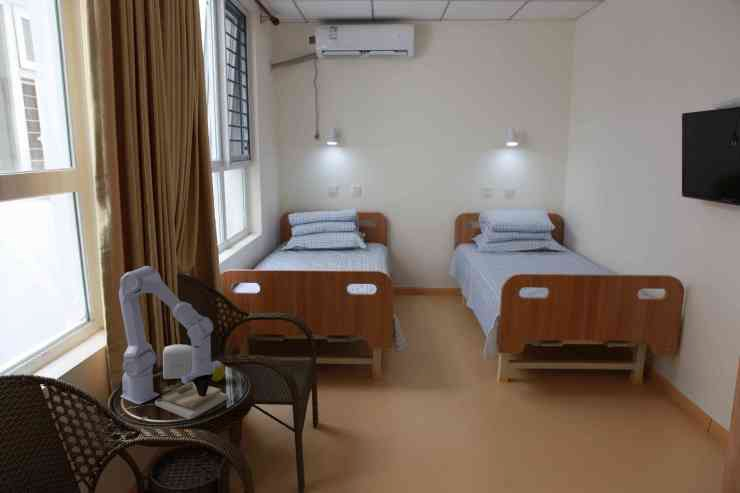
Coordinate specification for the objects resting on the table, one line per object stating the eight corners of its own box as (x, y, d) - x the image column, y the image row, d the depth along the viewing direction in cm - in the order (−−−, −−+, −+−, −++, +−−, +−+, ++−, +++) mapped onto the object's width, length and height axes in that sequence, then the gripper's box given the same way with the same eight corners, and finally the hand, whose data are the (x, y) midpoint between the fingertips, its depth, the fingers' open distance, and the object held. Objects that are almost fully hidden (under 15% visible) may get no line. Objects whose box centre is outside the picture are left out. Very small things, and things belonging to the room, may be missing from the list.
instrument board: (161, 398, 164) (160, 391, 163) (191, 384, 175) (191, 376, 174) (191, 408, 157) (191, 400, 157) (221, 392, 168) (221, 384, 168)
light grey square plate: (155, 405, 163) (154, 398, 163) (193, 386, 177) (193, 380, 176) (190, 419, 156) (190, 412, 155) (227, 398, 169) (227, 392, 169)
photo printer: (194, 373, 187) (193, 342, 184) (192, 378, 182) (192, 346, 180) (164, 375, 184) (163, 343, 182) (162, 380, 180) (161, 347, 178)
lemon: (220, 386, 178) (220, 365, 176) (206, 384, 179) (205, 363, 177) (227, 379, 183) (227, 358, 182) (213, 377, 184) (213, 356, 183)
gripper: (192, 367, 153) (193, 408, 155) (227, 351, 165) (227, 389, 168) (176, 361, 156) (177, 402, 159) (211, 346, 169) (212, 384, 171)
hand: (202, 395), depth 163 cm, fingers closed, pressing on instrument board
